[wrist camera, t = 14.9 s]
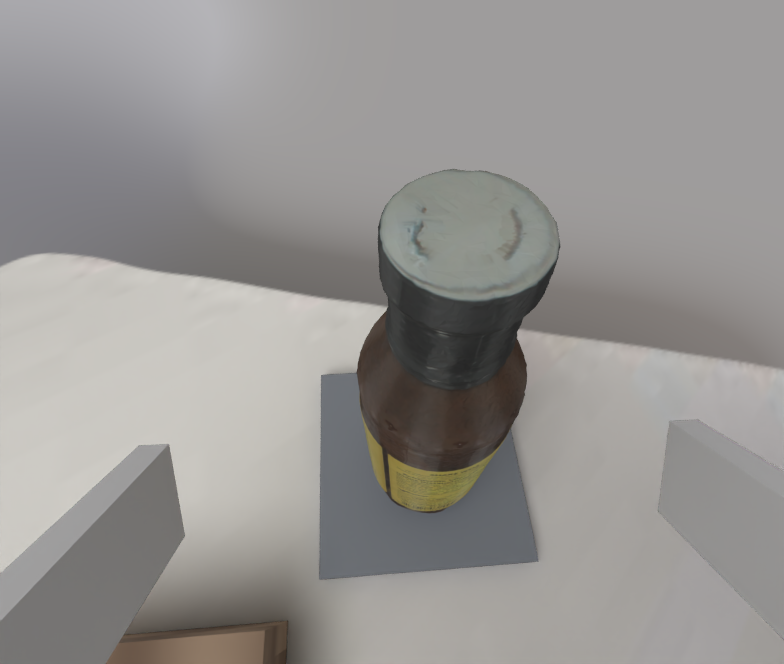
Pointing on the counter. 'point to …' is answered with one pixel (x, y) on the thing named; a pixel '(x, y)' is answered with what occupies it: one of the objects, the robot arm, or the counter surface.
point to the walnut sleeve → (206, 646)
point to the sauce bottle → (451, 330)
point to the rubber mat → (402, 526)
